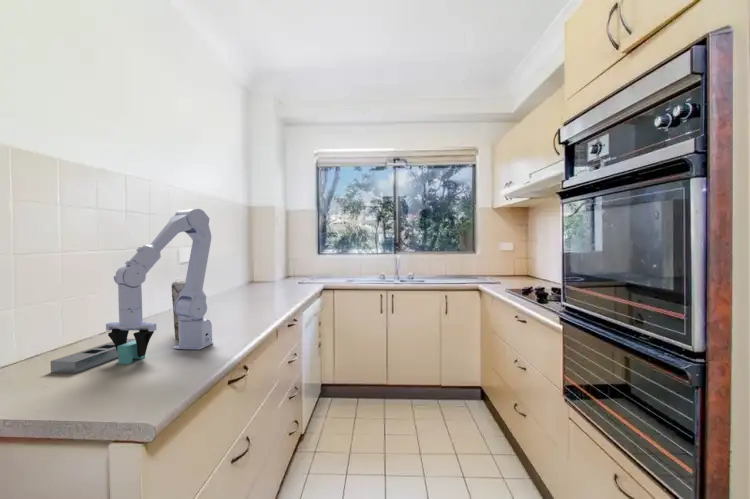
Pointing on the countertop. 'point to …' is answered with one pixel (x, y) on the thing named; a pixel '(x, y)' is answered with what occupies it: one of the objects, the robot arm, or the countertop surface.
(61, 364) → the rail
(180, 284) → the stone block
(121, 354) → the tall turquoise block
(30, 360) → the countertop surface
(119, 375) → the countertop surface
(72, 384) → the countertop surface
